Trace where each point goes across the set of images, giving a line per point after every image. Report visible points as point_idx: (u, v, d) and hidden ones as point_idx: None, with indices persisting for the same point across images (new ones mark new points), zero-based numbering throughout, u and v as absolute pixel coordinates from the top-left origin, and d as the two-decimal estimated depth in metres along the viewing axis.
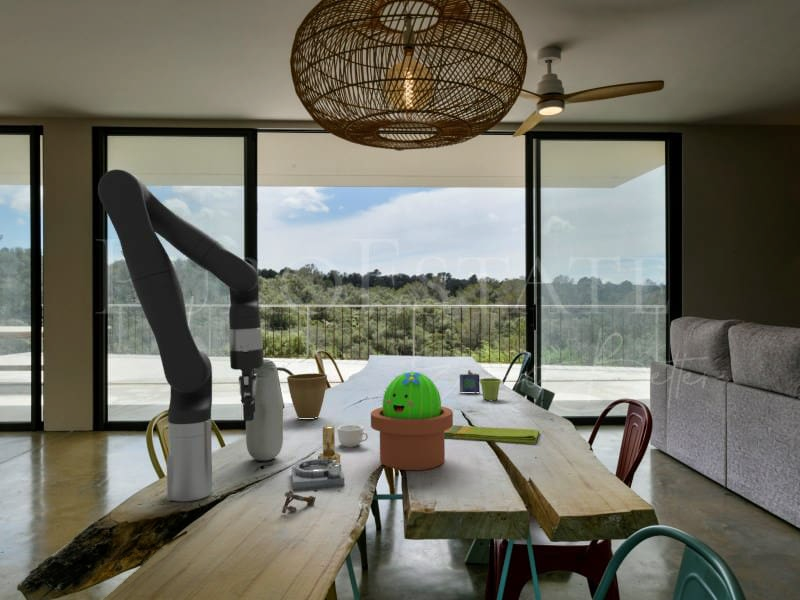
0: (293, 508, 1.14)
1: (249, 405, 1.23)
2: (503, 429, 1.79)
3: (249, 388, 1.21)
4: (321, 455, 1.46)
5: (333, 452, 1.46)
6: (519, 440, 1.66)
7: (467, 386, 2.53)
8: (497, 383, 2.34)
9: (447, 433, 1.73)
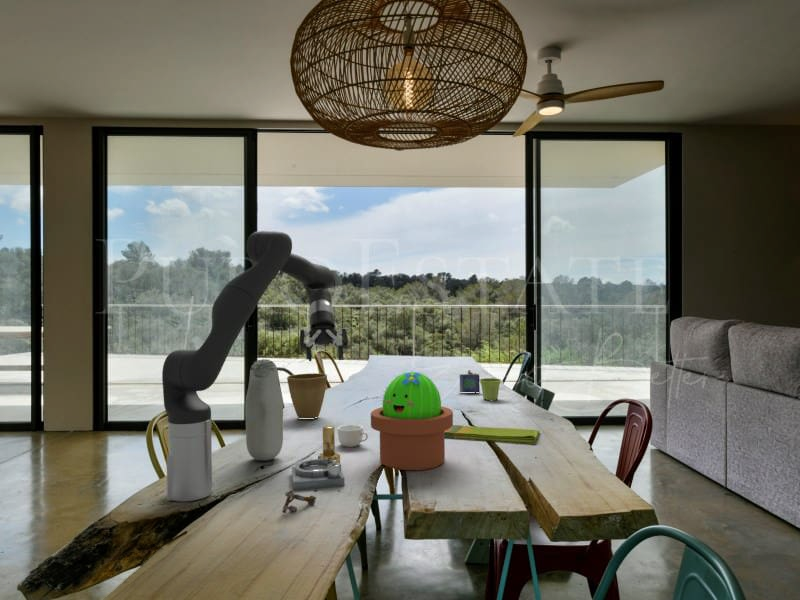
0: (293, 508, 1.14)
1: None
2: (503, 429, 1.79)
3: None
4: (321, 455, 1.46)
5: (333, 452, 1.46)
6: (519, 440, 1.66)
7: (467, 386, 2.53)
8: (497, 383, 2.34)
9: (447, 433, 1.73)
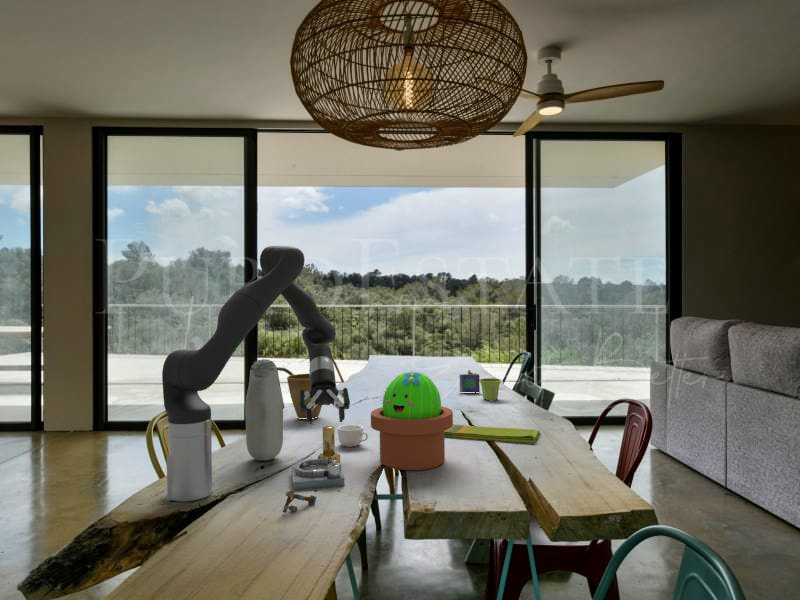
0: (294, 507, 1.14)
1: (343, 410, 1.57)
2: (503, 429, 1.79)
3: None
4: (321, 455, 1.46)
5: (333, 452, 1.46)
6: (518, 440, 1.66)
7: (467, 386, 2.53)
8: (497, 383, 2.34)
9: (446, 432, 1.74)
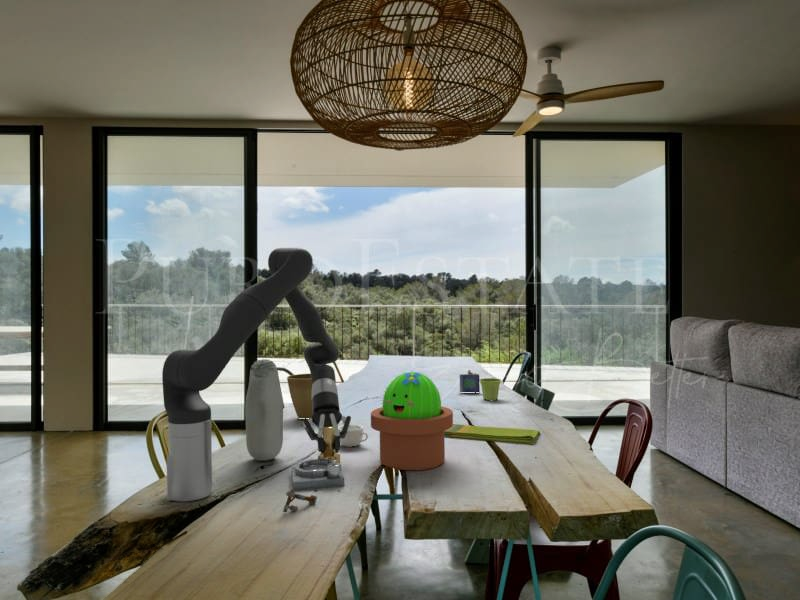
0: (294, 507, 1.15)
1: None
2: (503, 429, 1.79)
3: None
4: (321, 455, 1.46)
5: (333, 452, 1.46)
6: (517, 440, 1.66)
7: (467, 386, 2.53)
8: (497, 383, 2.34)
9: (446, 432, 1.74)
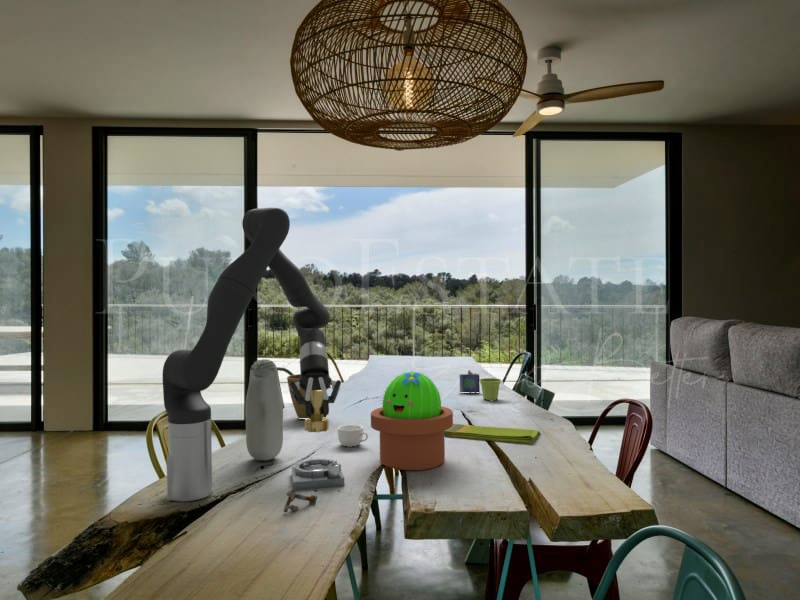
0: (295, 507, 1.15)
1: None
2: (503, 429, 1.80)
3: (337, 393, 1.43)
4: (308, 420, 1.38)
5: (321, 417, 1.37)
6: (516, 440, 1.66)
7: (467, 386, 2.53)
8: (497, 383, 2.34)
9: (446, 432, 1.75)
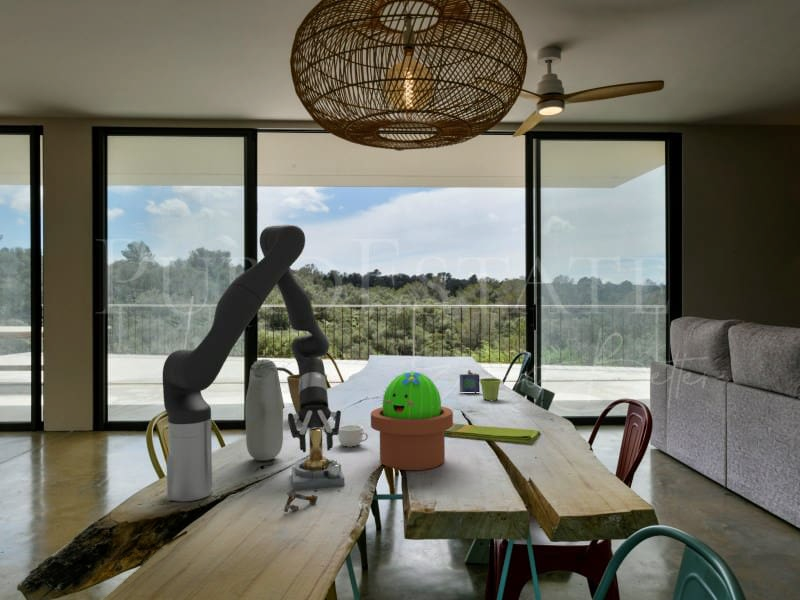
0: (295, 507, 1.15)
1: None
2: (504, 429, 1.80)
3: None
4: (308, 460, 1.36)
5: (321, 456, 1.36)
6: (515, 440, 1.66)
7: (467, 386, 2.53)
8: (497, 383, 2.34)
9: (446, 431, 1.75)
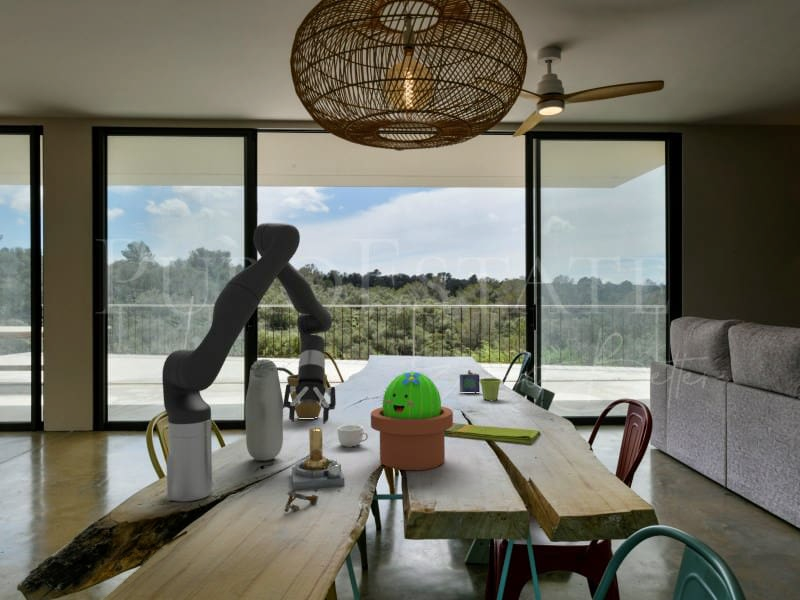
0: (296, 507, 1.15)
1: None
2: (504, 429, 1.80)
3: None
4: (308, 460, 1.36)
5: (321, 456, 1.36)
6: (514, 440, 1.66)
7: (467, 386, 2.53)
8: (497, 383, 2.34)
9: (445, 431, 1.76)
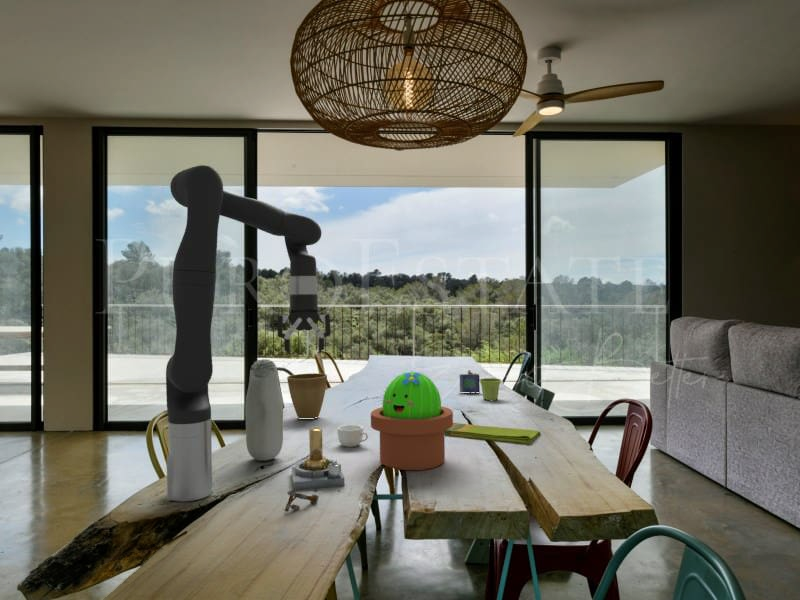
0: (296, 506, 1.15)
1: (323, 338, 1.50)
2: (504, 429, 1.80)
3: None
4: (308, 460, 1.36)
5: (321, 456, 1.36)
6: (513, 440, 1.66)
7: (467, 386, 2.53)
8: (497, 383, 2.34)
9: (445, 430, 1.76)
